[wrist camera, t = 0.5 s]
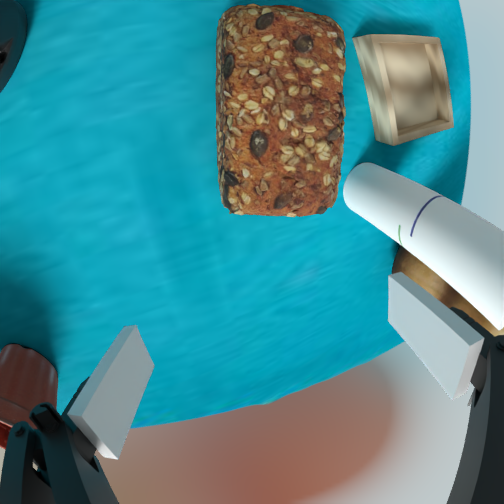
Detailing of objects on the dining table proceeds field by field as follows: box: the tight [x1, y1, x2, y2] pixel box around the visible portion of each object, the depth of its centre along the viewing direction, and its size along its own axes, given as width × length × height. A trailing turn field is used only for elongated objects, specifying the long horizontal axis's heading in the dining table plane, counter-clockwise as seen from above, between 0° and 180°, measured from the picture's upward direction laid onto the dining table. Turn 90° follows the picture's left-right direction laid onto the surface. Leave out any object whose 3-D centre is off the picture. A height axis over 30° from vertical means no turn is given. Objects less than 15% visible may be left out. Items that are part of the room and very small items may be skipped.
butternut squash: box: [392, 245, 504, 336], centre depth 33 cm, size 14×13×25 cm
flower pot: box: [0, 344, 58, 450], centre depth 27 cm, size 16×16×16 cm
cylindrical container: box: [343, 162, 504, 330], centre depth 24 cm, size 7×7×25 cm
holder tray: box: [352, 34, 454, 146], centre depth 27 cm, size 14×14×4 cm
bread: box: [216, 4, 346, 217], centre depth 22 cm, size 19×11×10 cm, turn 179°
